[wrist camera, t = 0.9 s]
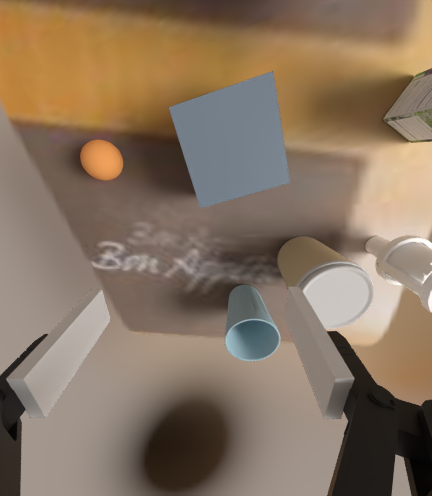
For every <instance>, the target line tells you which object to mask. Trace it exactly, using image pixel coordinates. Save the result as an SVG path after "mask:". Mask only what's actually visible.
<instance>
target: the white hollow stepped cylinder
mask: <svg viewBox="0 0 432 496" xmlns="http://www.w3.org/2000/svg"><path fill="white" fill-rule="evenodd" d="M416 242H420V243H421V244H422V245H421V244H419V243H416ZM365 248H366V251H367V252H369V253H370V254H372V255H374V256H375V257H377V259H376V271H377V273H378V274H379V275H380V276H381V277H382V278H383V279H385V280H386V281H387V282H389V283H391V284H395V285H404V286H405V287H407V288H408V289H410V290H411V291H413V292H414V293H416V294H417V295H419V297H420V300H421V301H422V303H421V304H422V305H423V307H424V308H425V309H427V310H428V311H430V312H431V313H432V243H431V242H429V241H428V240H425V239H423V238H420V237H418V236H413V235H408V236H402V237H399V238H396V239H394V240H392V241H389V240H387V239H385V238H383V237H381V236H374V237H372V238H370V239H369V240H368V241H367V243H366V245H365ZM386 274H387V275H389V276H390V277H392V278H390V277H387V275H386Z"/></svg>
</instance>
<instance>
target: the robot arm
mask: <svg viewBox="0 0 432 496" xmlns="http://www.w3.org/2000/svg"><path fill="white" fill-rule="evenodd" d="M285 320H286V323H287V326H288V328H289V331H290V333H291V336H292V338H293V341H294V343H295V346H296V348H297V351H298V353H299V356H300V359H301V361H302V364H303V367H304V369H305V372H306V374H307V377H308V379H309V382H310V384H311V387H312V390H313V392H314V395H315V397H316V400H317V402H318V405H319V407H320V410H321V413H322V415H323V418H324V419H341V417H342V414H343V411H344V413H345V415H346V417H347V419H348V424H347V426H346V429H345V432H344V438H343V442H342V445H341V449H340V452H339V455H338V459H337V463H336V467H335V470H334V473H333V477H332V480H331V484H330V487H329V491H328V495H327V496H391V494H392V483H393V474H394V473H393V472H394V463H395V454H396V455H399V456H402V457H404V461H405V466H406V471H407V476H408V481H409V485H410V490H411V495H412V496H432V400H426V401H425V402H424V403H423V404H422V406H419V405H416V404H412V403H409V402H405V401H402V400H399V399H397V398H395V397H394V396H393V395H392V394H391V393H390V392H389V391H388V390H386V389H385V388H383V387H382V386H379V385H377V384H376V382H375V381H374V380H373V378H372V377H371V375H370V374H369V372H368V371H367V369H366V368H365V366H364V365H363V364H362V362H361V360H360V359H359V357H358V356H356V353H355V352H354V350H353V349H352V348H351V346H350V344H349V343H348V341H347V340H346V338H344V337H343V336H342V335H341V334H340V333H338V332H337V331H326V330H325V328H324V327H323V325H322V323H321V322H320V320H319V318H318V316H317V315H316V313H315V311H314V310H313V308H312V306H311V305H310V303H309V301H308V300H307V298H306V296H305V295H304V293H303V291H302V290H301V288H300V287H288V295H287V303H286V311H285ZM109 321H110V316H109V313H108V309H107V306H106V302H105V299H104V295H103V292H102V289H97V290H90V291H89V293H87V295H86V296H85V297H84V298H83V299H82V300H81V301H80V302H79V303H78V304H77V305H76V306H75V307H74V308H73V309H72V310H71V311H70V312H69V314H67V316H66V317H65V318H64V319H63V320H62V321H61V322H60V323H59V324H58V325H57V326H56V327H55V328H54V329H53V330H52V331H51V332H50V333H49V334H44V335H43V336H41V337H40V338H38V339H37V340H36V341H34V342H33V343H32V344H31V345H30V346H29V347H28V348H27V349H26V351H24V352H23V353H22V354H21V355H20V357H19V358H17V359H16V360H15V361H14V362H13V363H12V364H11V365H10V366H9V367H8V369H6V370H5V371H4V372H3V373H2V374H1V376H0V496H20V479H21V431H22V430H21V429H22V422H21V419H20V416H21V415H22V414H23V412H24V411H25V410H26V412H27V414H28V415H29V417H30V418H46V417H47V415H48V414H49V412H50V410H51V409H52V407H53V406H54V404H55V403H56V401H57V400H58V398H59V397H60V395H61V394H62V392H63V391H64V389H65V388H66V386H67V385H68V383H69V382H70V380H71V379H72V377H73V376H74V374H75V373H76V371H77V370H78V368H79V367H80V365H81V364H82V362H83V361H84V359H85V357H86V356H87V355H88V353H89V352H90V350H91V348H92V347H93V346H94V344H95V343H96V341H97V340H98V338H99V337H100V335H101V334H102V332H103V331H104V329H105V328H106V326H107V325H108V323H109Z"/></svg>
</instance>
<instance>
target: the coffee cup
mask: <svg viewBox="0 0 432 496" xmlns="http://www.w3.org/2000/svg"><path fill="white" fill-rule="evenodd" d="M277 263H278V266H279V269H280V272H281V274H282V277H283V279H284V282H285V284H286V287H287V289H288V287H300V288H301V290H302V291H303V293H304V295H305V296H306V298H307V300H308V301H309V303H310V305H311V306H312V308H313V310H314V311H315V313H316V315H317V316H318V318H319V320H320V322H321V323H322V325H323V327H324V328H325V329H335V328H340V327H344V326H347V325H349V324H351V323H353V322H355V321H356V320H358V319H359V318H361V317H362V316H363V315H364V314H365V313H366V312H367V310H368V309H369V307H370V306H371V304H372V301H373V298H374V286H373V282H372V279H371V277H370V275H369V274H368V272H367V271H366V270H365V269H364V268H362V267H361V266H359V265H358V264H356V263H353V262H351V261H350V260H348V259H347V258H345V257H343V256H342V255H340V254H339V253H337V252H335V251H334V250H332V249H330V248H329V247H327V246H326V245H324V244H322V243H321V242H319V241H317V240H315V239H313V238H311V237H305V236H301V237H296V238H293V239H291V240H289V241H287V242H286V243H285V244H284V245H283V246H282V248H281V249H280V251H279V253H278V258H277Z"/></svg>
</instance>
